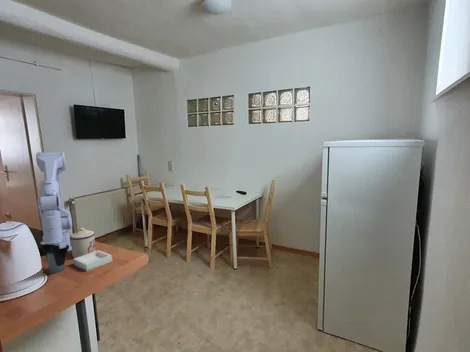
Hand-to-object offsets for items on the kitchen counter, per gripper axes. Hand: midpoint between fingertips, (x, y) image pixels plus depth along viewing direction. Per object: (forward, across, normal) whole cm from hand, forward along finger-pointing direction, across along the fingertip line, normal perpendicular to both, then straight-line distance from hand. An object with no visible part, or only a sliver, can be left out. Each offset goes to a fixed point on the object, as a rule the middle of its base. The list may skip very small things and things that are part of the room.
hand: (56, 262), depth 99 cm
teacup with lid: (+3, -7, +14) cm, 16 cm away
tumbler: (+3, 0, 0) cm, 3 cm away
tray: (+3, +6, +10) cm, 12 cm away
